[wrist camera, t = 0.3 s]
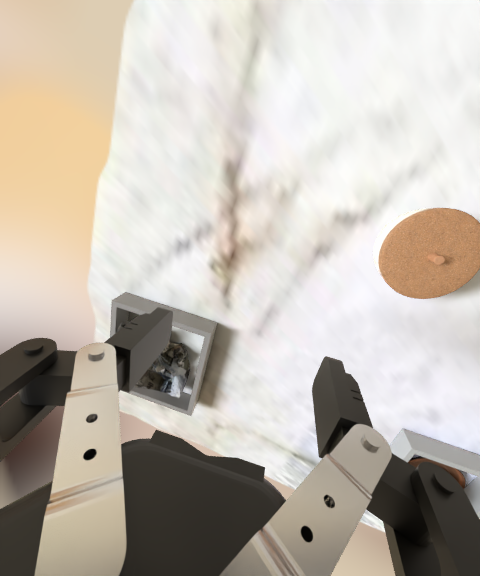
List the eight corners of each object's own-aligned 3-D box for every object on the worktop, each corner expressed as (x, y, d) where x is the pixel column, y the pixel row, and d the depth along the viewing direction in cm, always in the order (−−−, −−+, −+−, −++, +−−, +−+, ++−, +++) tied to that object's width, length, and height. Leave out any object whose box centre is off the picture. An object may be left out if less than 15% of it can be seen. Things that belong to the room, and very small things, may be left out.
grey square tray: (402, 428, 47) (412, 448, 43) (500, 462, 45) (518, 485, 42) (360, 482, 54) (366, 503, 50) (444, 513, 52) (455, 537, 49)
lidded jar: (360, 279, 38) (380, 305, 30) (366, 208, 35) (391, 213, 26) (439, 278, 36) (485, 304, 28) (454, 201, 32) (513, 204, 24)
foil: (131, 389, 53) (93, 366, 40) (154, 342, 59) (126, 310, 46) (182, 403, 50) (158, 383, 38) (200, 353, 56) (184, 322, 44)
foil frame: (125, 292, 48) (111, 300, 44) (217, 322, 46) (211, 333, 43) (119, 372, 56) (107, 385, 52) (197, 400, 54) (191, 416, 51)
